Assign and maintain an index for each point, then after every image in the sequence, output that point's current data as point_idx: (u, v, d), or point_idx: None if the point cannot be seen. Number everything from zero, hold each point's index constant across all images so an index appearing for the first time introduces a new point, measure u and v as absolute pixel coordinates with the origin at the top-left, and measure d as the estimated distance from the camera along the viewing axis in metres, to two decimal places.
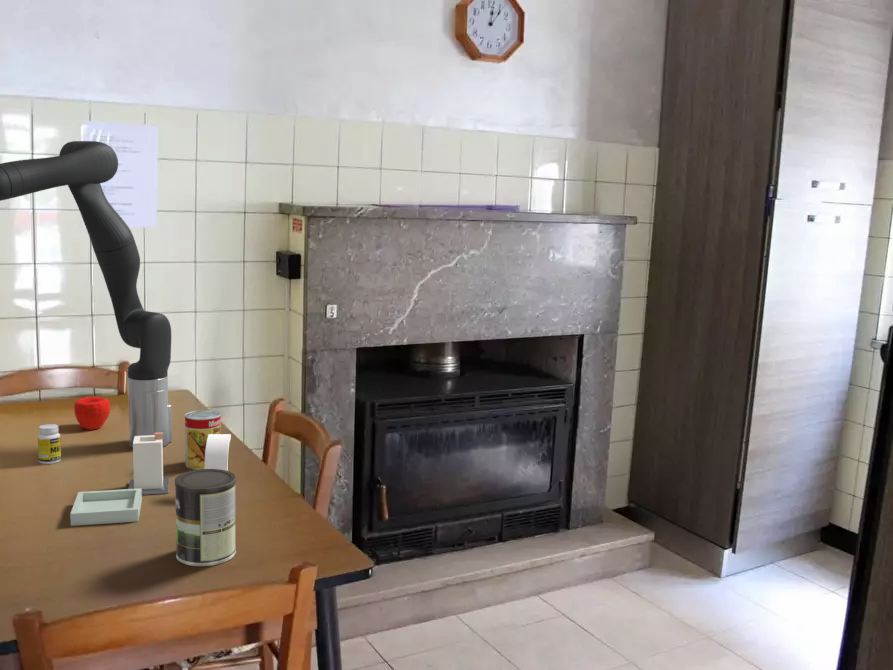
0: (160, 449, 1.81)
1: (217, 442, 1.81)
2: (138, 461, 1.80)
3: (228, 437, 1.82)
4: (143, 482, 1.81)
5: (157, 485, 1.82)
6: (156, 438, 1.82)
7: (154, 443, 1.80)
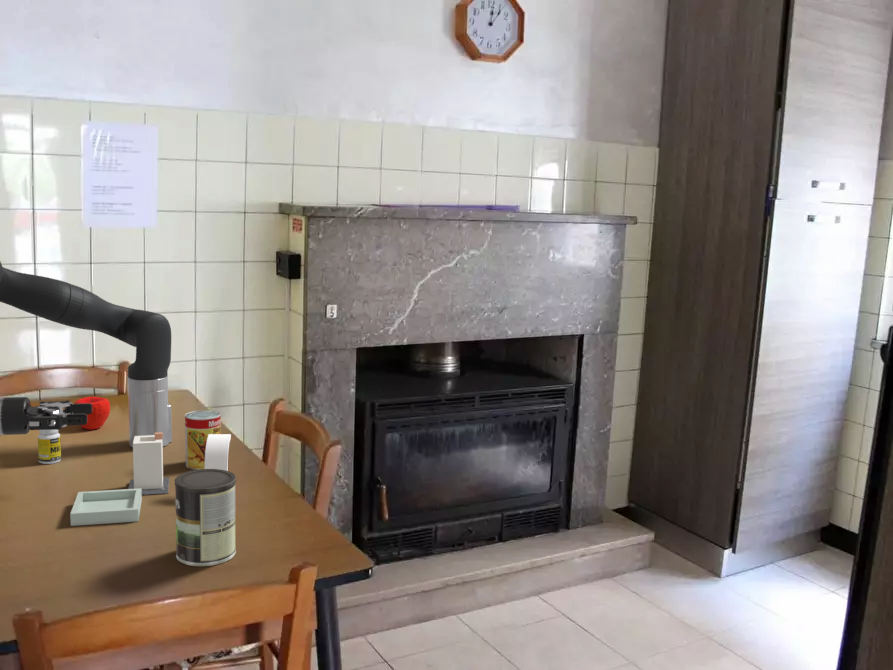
0: (160, 449, 1.81)
1: (217, 442, 1.81)
2: (138, 461, 1.80)
3: (228, 437, 1.82)
4: (143, 482, 1.81)
5: (157, 485, 1.82)
6: (156, 438, 1.82)
7: (154, 443, 1.80)
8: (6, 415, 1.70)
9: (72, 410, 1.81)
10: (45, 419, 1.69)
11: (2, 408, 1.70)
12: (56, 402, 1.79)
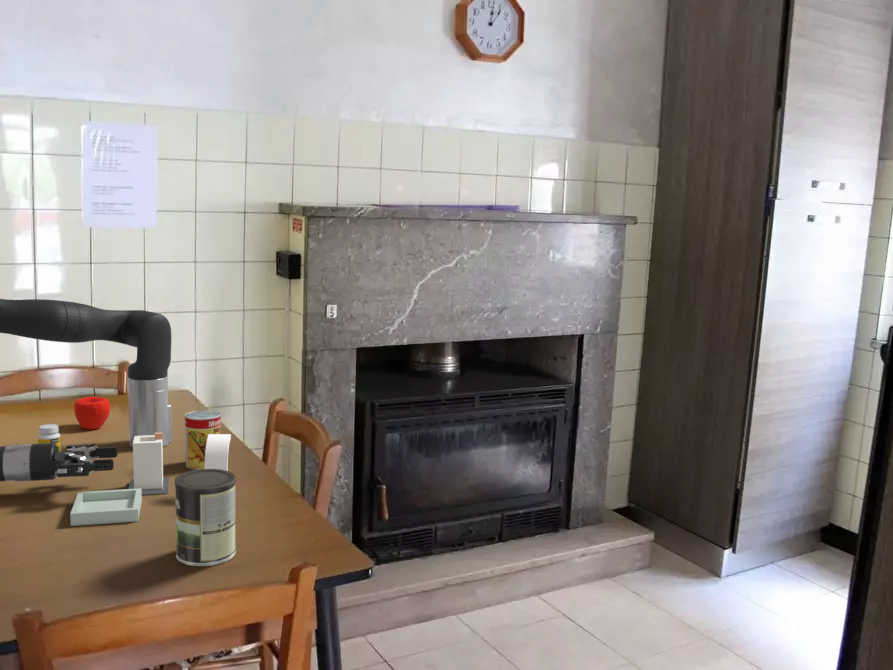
0: (160, 449, 1.81)
1: (217, 442, 1.81)
2: (138, 461, 1.80)
3: (228, 437, 1.82)
4: (143, 482, 1.81)
5: (157, 485, 1.82)
6: (156, 438, 1.82)
7: (154, 443, 1.80)
8: (34, 462, 1.73)
9: (98, 454, 1.84)
10: (73, 466, 1.72)
11: (30, 455, 1.74)
12: (82, 446, 1.82)
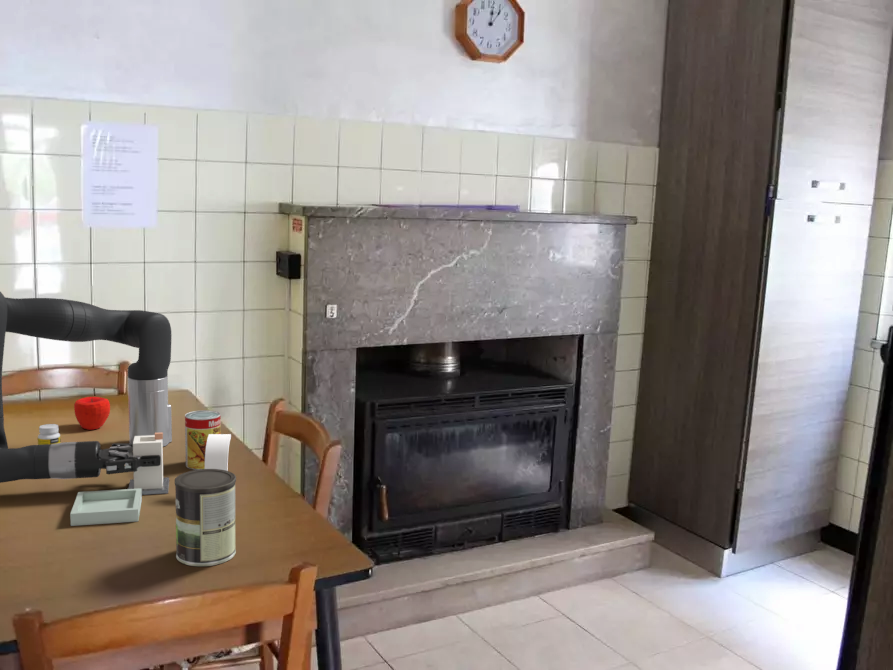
0: (160, 449, 1.81)
1: (217, 442, 1.81)
2: None
3: (228, 437, 1.82)
4: (143, 482, 1.81)
5: (157, 485, 1.82)
6: (156, 438, 1.82)
7: (154, 443, 1.80)
8: (79, 460, 1.76)
9: None
10: (123, 462, 1.75)
11: (75, 453, 1.76)
12: (127, 445, 1.84)
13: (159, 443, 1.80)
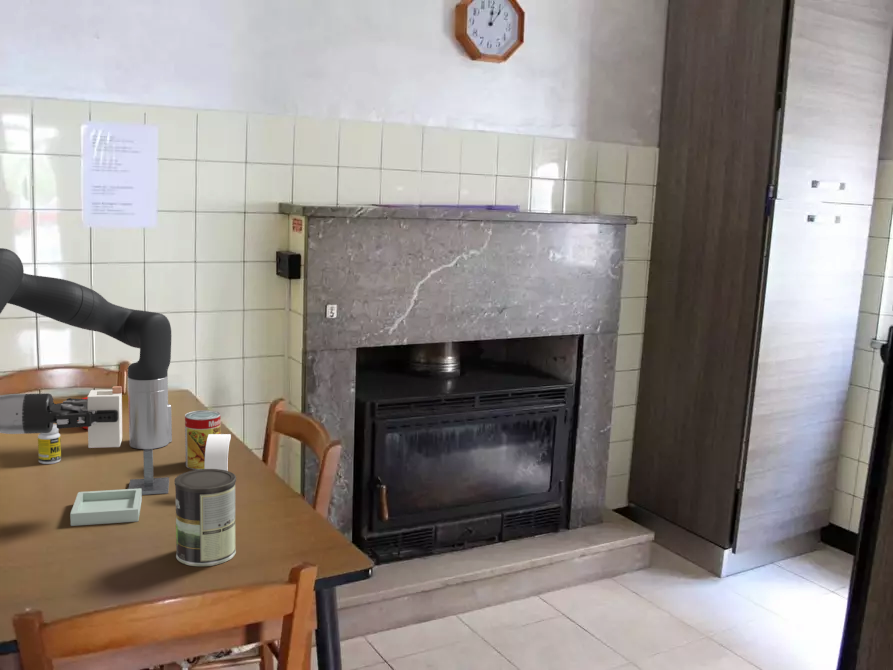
0: (118, 404, 1.65)
1: (217, 442, 1.81)
2: None
3: (228, 437, 1.82)
4: (98, 440, 1.65)
5: (114, 443, 1.66)
6: (114, 392, 1.67)
7: (111, 397, 1.64)
8: (28, 412, 1.60)
9: None
10: (75, 416, 1.60)
11: (24, 405, 1.60)
12: (82, 400, 1.69)
13: (117, 397, 1.65)
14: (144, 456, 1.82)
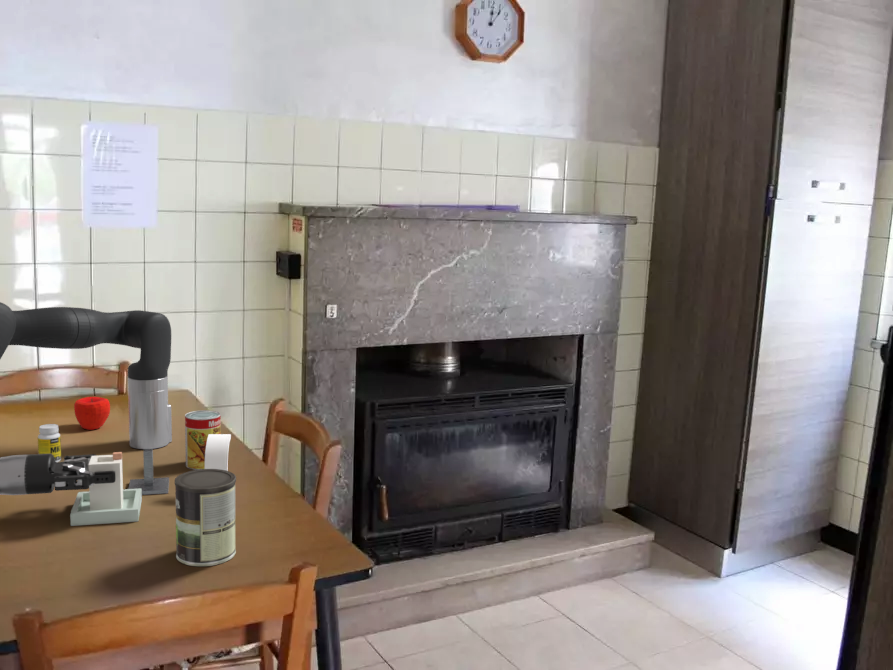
0: (118, 470, 1.66)
1: (217, 442, 1.81)
2: (94, 483, 1.66)
3: (228, 437, 1.82)
4: (100, 506, 1.67)
5: None
6: (114, 458, 1.68)
7: (112, 464, 1.66)
8: (30, 474, 1.61)
9: None
10: (72, 479, 1.60)
11: (26, 467, 1.62)
12: (81, 457, 1.70)
13: (117, 464, 1.66)
14: (144, 456, 1.82)
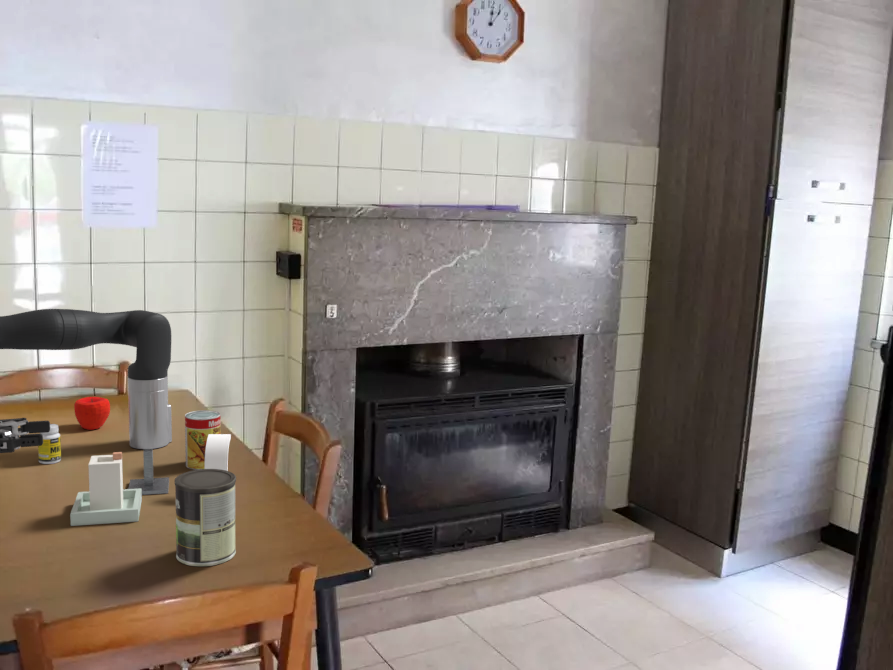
0: (118, 470, 1.66)
1: (217, 442, 1.81)
2: (94, 483, 1.66)
3: (228, 437, 1.82)
4: (100, 506, 1.67)
5: None
6: (114, 458, 1.68)
7: (112, 464, 1.66)
8: None
9: (28, 428, 1.67)
10: None
11: None
12: (10, 421, 1.66)
13: (117, 464, 1.66)
14: (144, 456, 1.82)
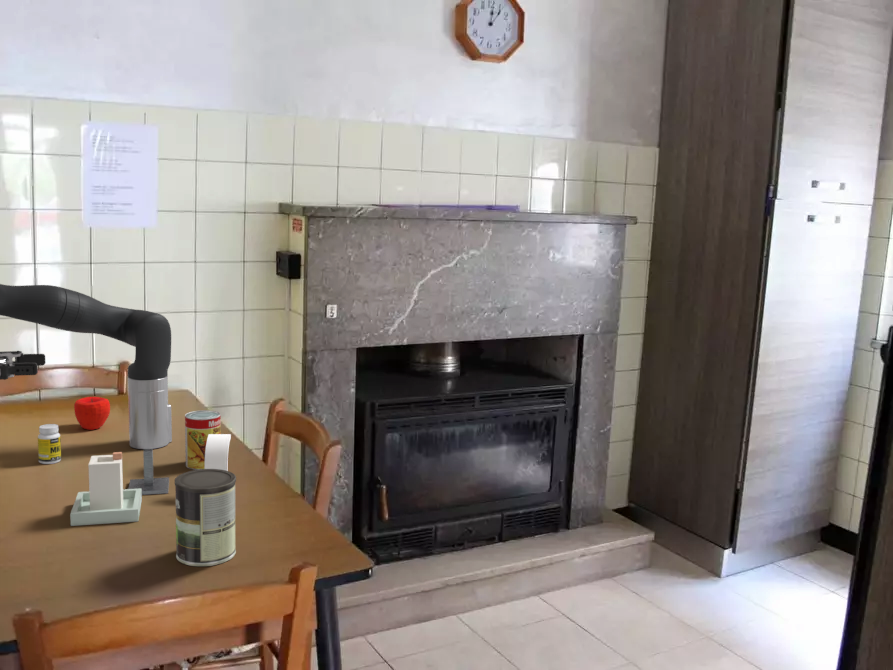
0: (118, 470, 1.66)
1: (217, 442, 1.81)
2: (94, 483, 1.66)
3: (228, 437, 1.82)
4: (100, 506, 1.67)
5: None
6: (114, 458, 1.68)
7: (112, 464, 1.66)
8: None
9: (23, 361, 1.65)
10: None
11: None
12: (5, 352, 1.63)
13: (117, 464, 1.66)
14: (144, 456, 1.82)
